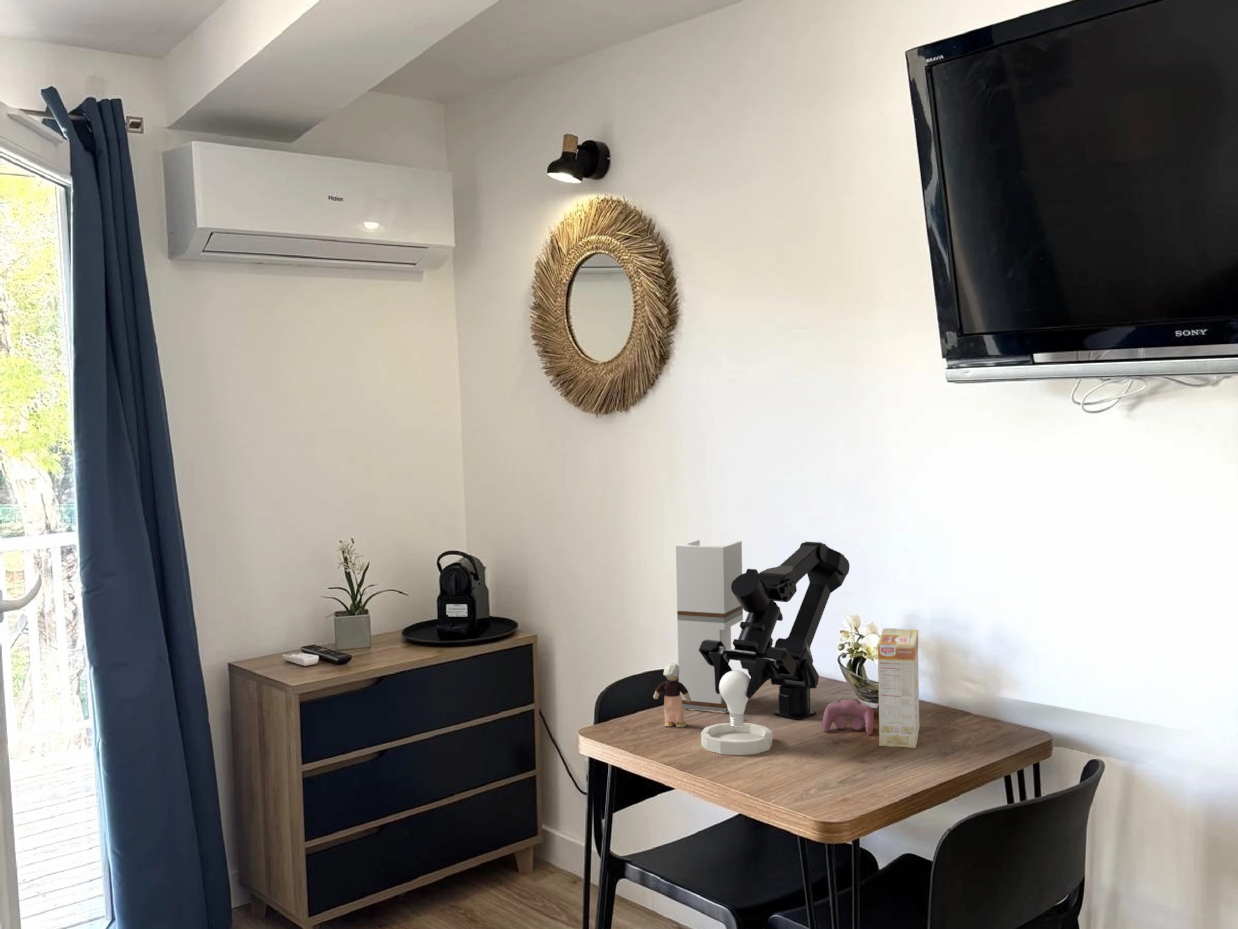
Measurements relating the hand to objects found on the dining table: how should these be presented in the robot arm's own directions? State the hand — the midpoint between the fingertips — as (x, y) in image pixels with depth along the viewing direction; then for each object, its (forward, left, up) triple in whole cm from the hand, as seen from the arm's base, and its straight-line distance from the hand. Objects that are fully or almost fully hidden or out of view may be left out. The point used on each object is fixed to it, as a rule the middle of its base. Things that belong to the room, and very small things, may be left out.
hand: (732, 695), depth 212 cm
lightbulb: (-1, 0, -7) cm, 7 cm away
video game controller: (-23, +10, -10) cm, 27 cm away
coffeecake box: (-27, +19, -10) cm, 34 cm away
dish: (-1, 0, -10) cm, 10 cm away
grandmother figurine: (-2, -18, -10) cm, 21 cm away
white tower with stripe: (-19, -23, -10) cm, 32 cm away
